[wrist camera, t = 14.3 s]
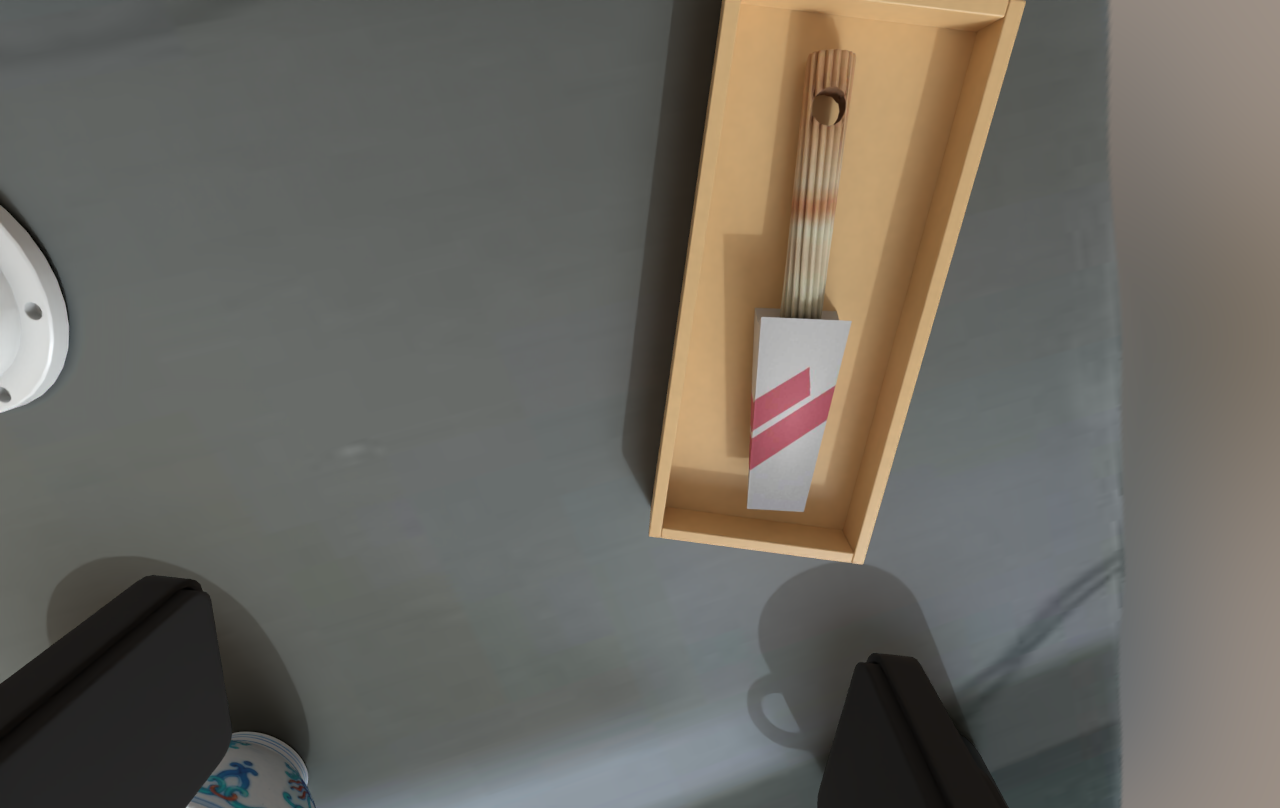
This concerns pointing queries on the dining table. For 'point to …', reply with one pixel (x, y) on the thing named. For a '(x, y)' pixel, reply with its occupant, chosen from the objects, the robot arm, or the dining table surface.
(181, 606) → the robot arm
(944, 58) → the brush tray
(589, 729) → the dining table surface
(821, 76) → the folding fan
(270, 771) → the chinaware
